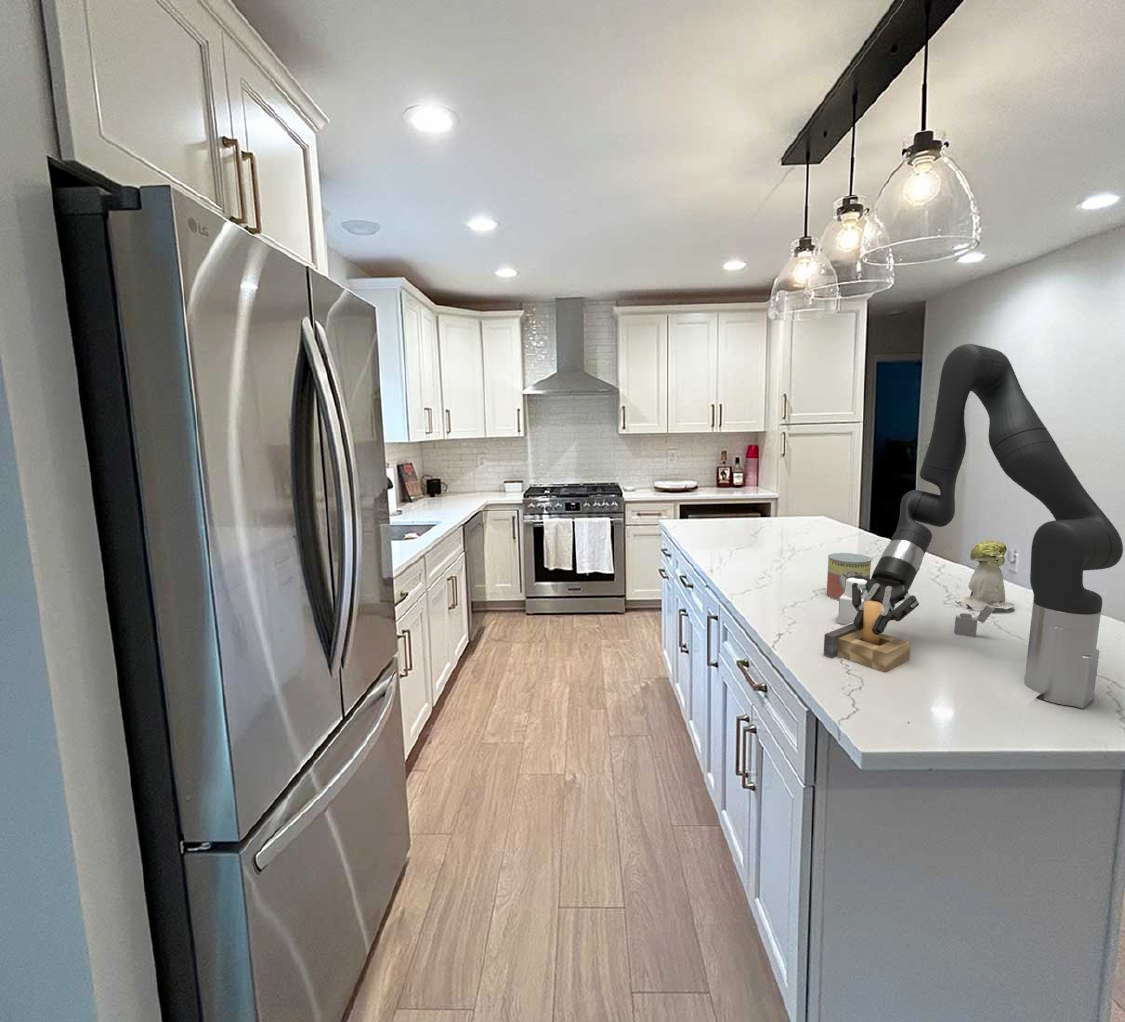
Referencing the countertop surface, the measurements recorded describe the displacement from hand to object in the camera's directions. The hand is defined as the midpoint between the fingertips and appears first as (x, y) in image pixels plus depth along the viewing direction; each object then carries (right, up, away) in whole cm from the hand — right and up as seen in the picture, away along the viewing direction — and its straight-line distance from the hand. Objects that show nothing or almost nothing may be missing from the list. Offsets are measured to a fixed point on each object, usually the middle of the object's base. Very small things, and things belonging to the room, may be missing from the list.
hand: (866, 630), depth 117 cm
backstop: (+3, -8, 0) cm, 8 cm away
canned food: (+20, 0, +47) cm, 51 cm away
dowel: (+2, -4, +2) cm, 5 cm away
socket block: (+2, -6, +2) cm, 7 cm away
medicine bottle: (+11, -4, +26) cm, 28 cm away
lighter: (+34, -5, +15) cm, 38 cm away
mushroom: (+53, -1, +36) cm, 64 cm away
